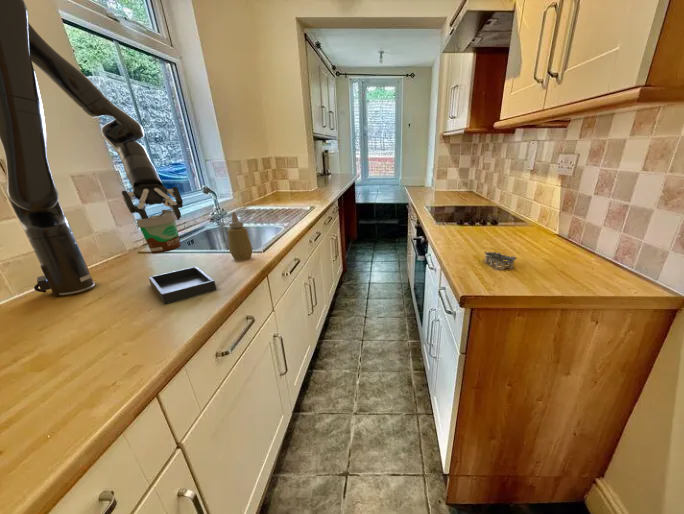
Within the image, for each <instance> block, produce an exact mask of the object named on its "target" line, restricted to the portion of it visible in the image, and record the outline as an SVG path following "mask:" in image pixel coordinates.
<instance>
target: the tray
mask: <svg viewBox="0 0 684 514" xmlns="http://www.w3.org/2000/svg"><path fill="white" fill-rule="evenodd" d="M148 280H149V283H150V286H151V287H152V289H153V290H154V292H155V293H156V295H157V296H158V297H159V299H160V300H161V301H162V302H163V304H164V305H169V304H172V303H176V302H179V301H182V300H186V299H189V298H193V297H197V296H200V295H205V294H208V293H211V292H215V291H217V290H218V289H217V286H216V281H215V280H214V279H213V278H212V277H210V276H209V275H208V274H207V273H206V272H204V271H203V270H202V269H201V268H199V267H198V266H196V265H195V266H192V267H186V268H182V269H178V270H174V271H169V272H165V273H160V274H156V275H151V276H148Z"/></svg>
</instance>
